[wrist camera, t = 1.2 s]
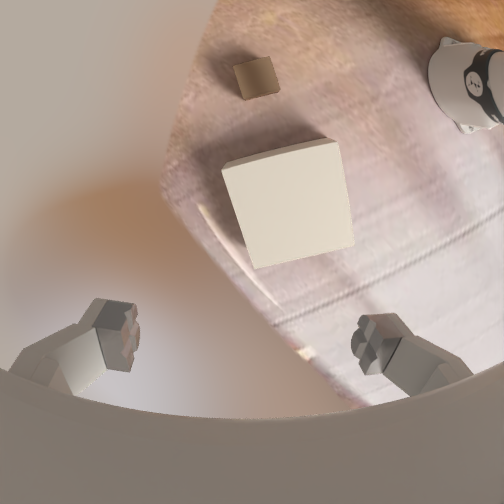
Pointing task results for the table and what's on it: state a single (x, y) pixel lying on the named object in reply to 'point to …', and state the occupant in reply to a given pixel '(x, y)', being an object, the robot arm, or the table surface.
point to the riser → (291, 202)
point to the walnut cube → (256, 78)
